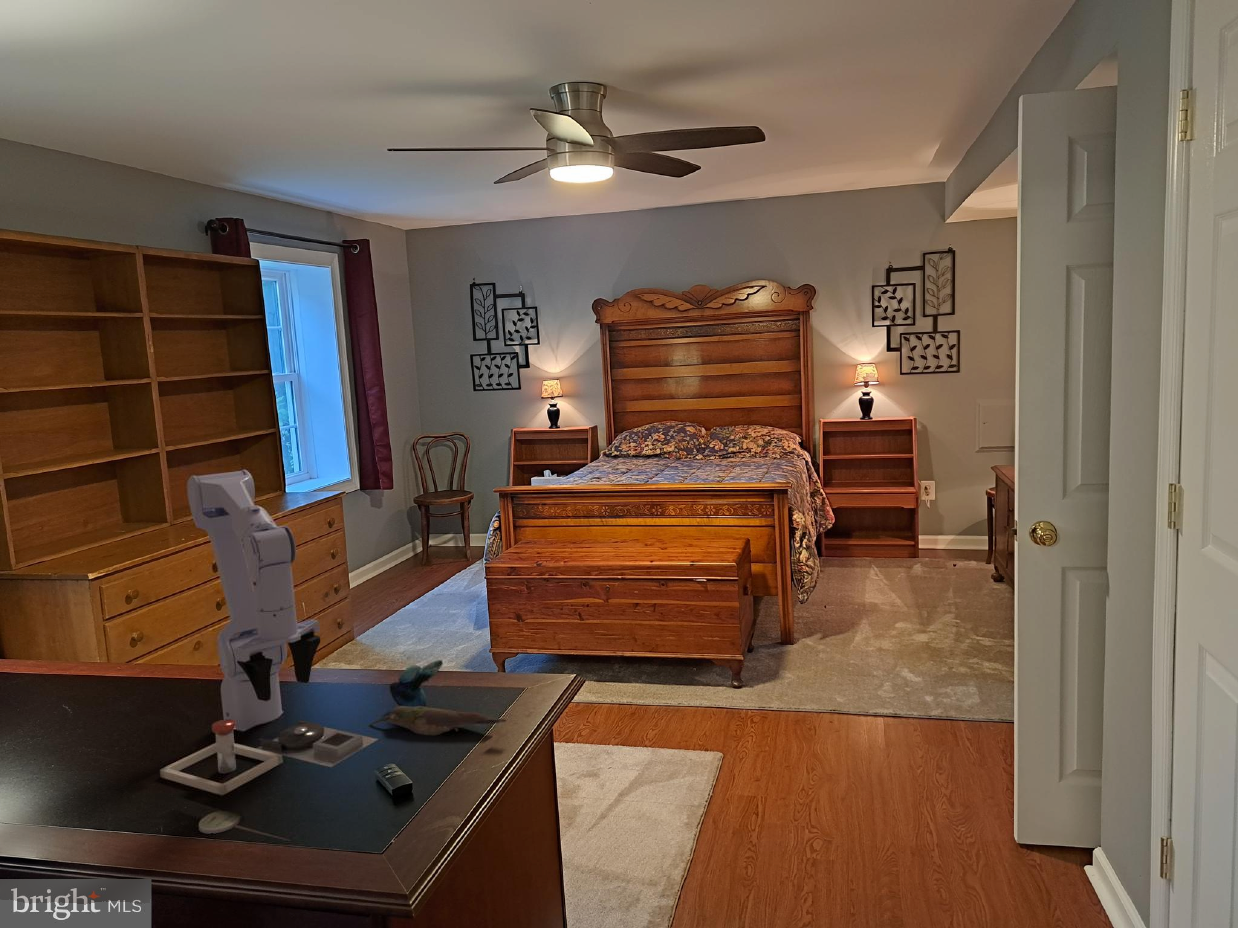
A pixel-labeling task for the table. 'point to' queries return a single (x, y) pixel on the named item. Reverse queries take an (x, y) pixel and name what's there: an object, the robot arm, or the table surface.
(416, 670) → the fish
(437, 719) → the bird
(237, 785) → the tray
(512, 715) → the table surface
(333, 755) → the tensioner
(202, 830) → the sign
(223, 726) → the pin
